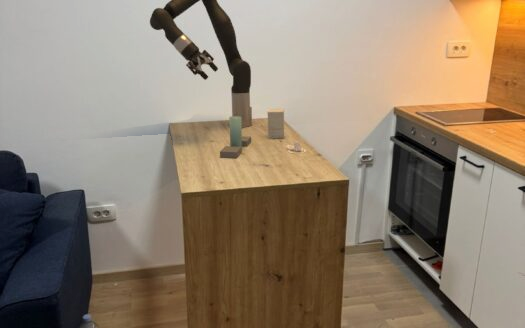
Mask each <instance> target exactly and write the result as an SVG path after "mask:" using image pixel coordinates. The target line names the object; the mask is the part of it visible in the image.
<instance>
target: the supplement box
mask: <svg viewBox="0 0 525 328" xmlns="http://www.w3.org/2000/svg"><path fill="white" fill-rule="evenodd" d="M267 132H268V133H267V136H268V137H267V138H268V139H284V138H285V109H284V108H268V110H267Z"/></svg>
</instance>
